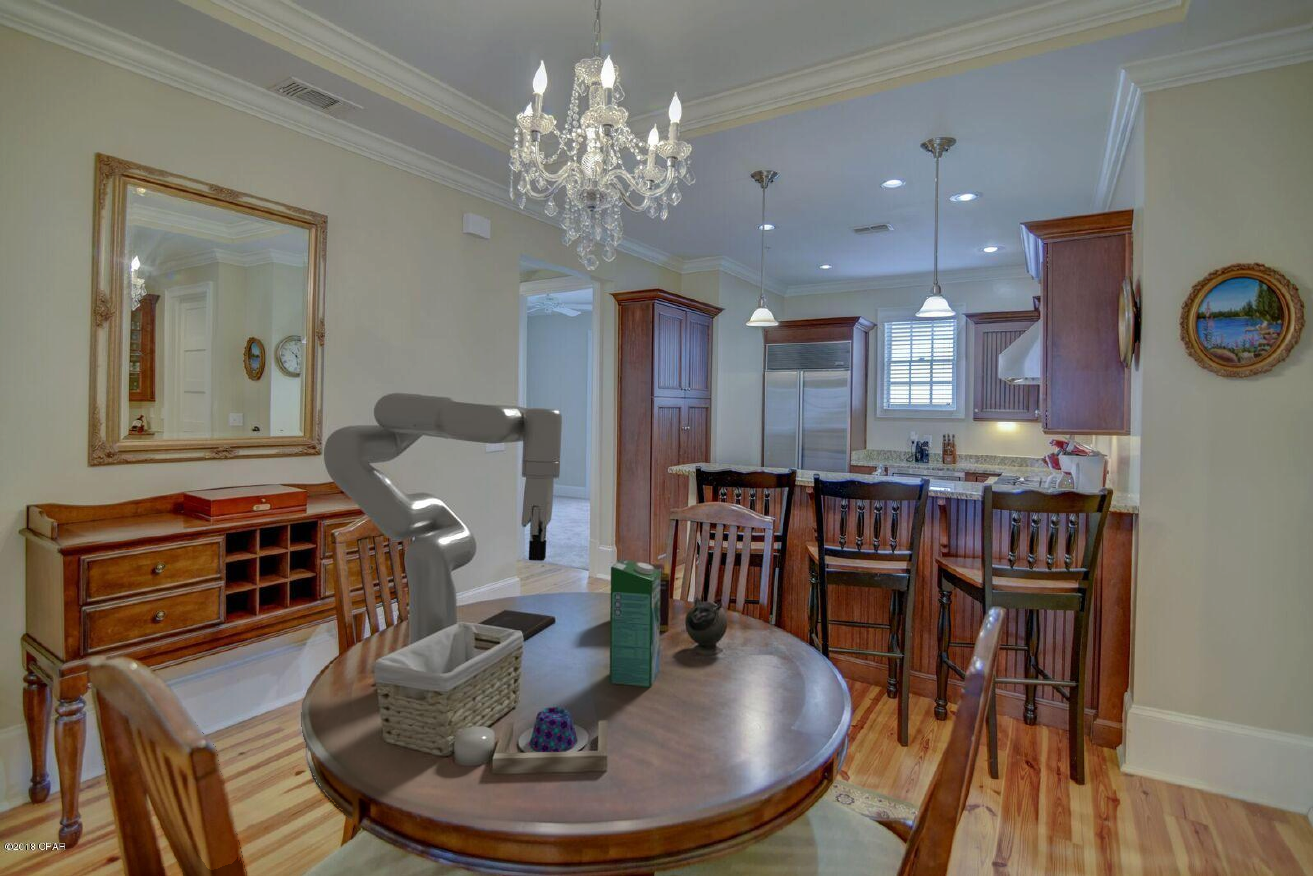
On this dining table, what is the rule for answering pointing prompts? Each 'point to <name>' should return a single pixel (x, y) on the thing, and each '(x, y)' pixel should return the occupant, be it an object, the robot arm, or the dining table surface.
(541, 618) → the hardcover book
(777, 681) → the dining table surface
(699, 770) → the dining table surface
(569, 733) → the pudding
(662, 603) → the supplement box
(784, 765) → the dining table surface
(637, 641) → the milk carton
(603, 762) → the display stand
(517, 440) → the robot arm
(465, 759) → the egg
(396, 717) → the storage basket
